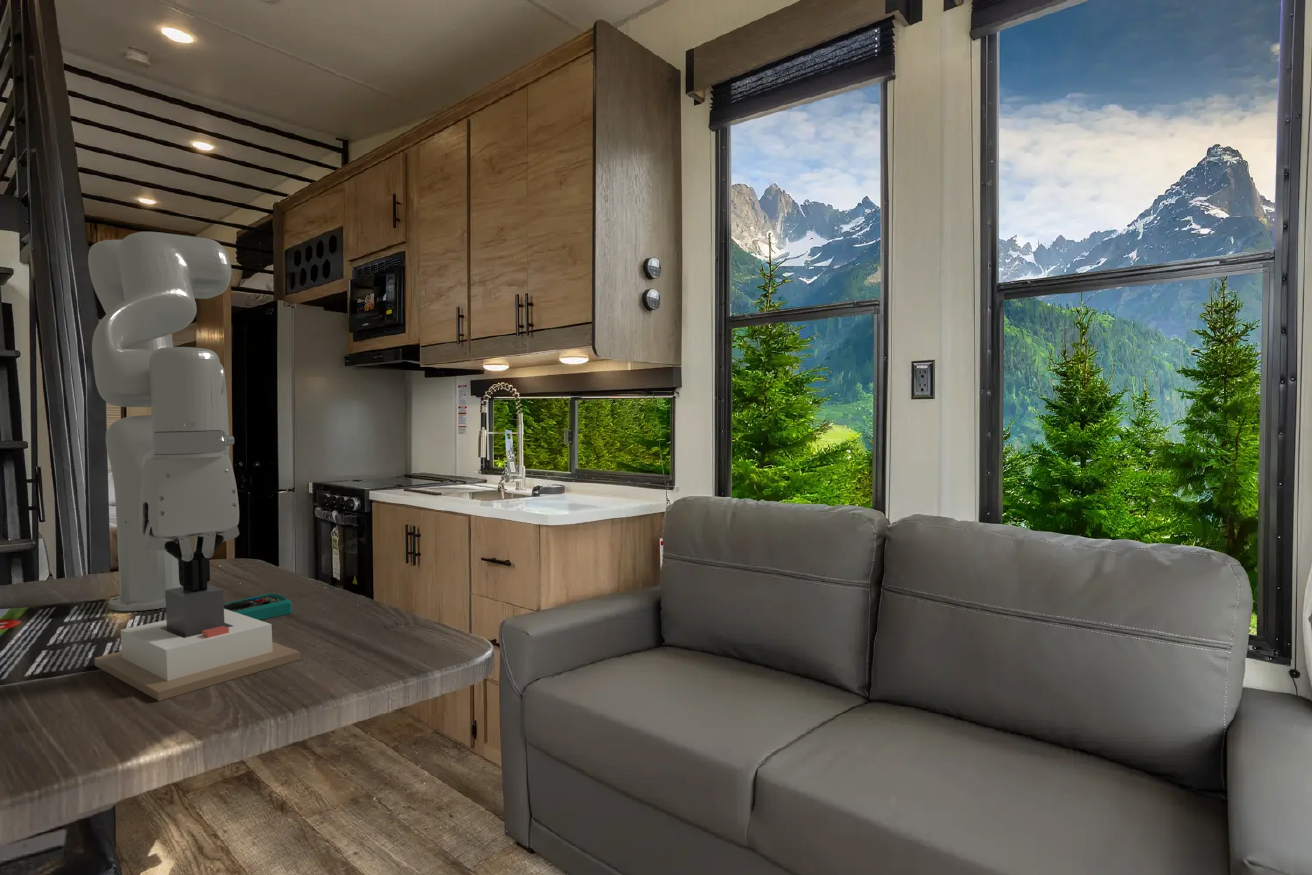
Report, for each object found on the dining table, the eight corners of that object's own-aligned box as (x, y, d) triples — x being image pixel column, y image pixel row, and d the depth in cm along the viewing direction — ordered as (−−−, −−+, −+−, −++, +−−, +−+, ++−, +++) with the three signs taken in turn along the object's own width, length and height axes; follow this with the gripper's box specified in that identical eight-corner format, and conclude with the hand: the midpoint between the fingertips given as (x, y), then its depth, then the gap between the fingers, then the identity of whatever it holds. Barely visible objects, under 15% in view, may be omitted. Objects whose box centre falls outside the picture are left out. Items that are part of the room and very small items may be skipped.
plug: (167, 653, 93) (165, 589, 93) (205, 643, 97) (202, 582, 96) (187, 662, 90) (184, 597, 89) (225, 652, 93) (223, 589, 93)
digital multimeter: (296, 615, 116) (295, 596, 116) (192, 639, 104) (192, 619, 104) (274, 608, 120) (274, 590, 120) (173, 630, 109) (172, 611, 109)
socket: (94, 665, 93) (92, 625, 92) (228, 632, 106) (226, 597, 105) (158, 700, 81) (156, 654, 81) (300, 659, 94) (298, 619, 94)
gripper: (237, 442, 100) (242, 574, 101) (107, 448, 88) (114, 598, 89) (264, 443, 96) (269, 581, 97) (131, 449, 84) (138, 607, 85)
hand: (195, 589), depth 93 cm, fingers closed
